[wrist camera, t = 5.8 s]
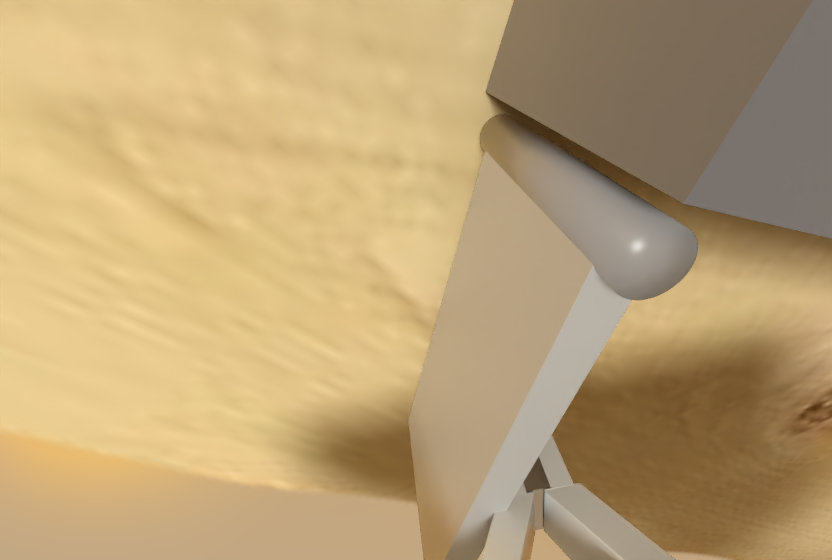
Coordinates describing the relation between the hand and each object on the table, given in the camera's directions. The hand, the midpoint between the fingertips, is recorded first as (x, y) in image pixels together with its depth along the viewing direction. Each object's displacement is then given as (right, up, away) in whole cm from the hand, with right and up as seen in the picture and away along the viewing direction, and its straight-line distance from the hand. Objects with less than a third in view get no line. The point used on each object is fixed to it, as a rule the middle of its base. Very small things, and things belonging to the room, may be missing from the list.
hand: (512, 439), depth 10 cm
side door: (-1, +4, +2) cm, 4 cm away
